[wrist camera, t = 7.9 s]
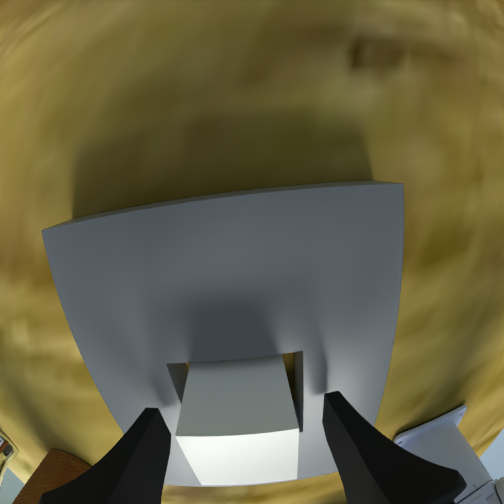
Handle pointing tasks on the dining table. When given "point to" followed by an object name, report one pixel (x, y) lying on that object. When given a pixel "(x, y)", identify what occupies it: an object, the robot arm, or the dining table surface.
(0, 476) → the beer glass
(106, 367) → the socket plate
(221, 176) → the dining table surface
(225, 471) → the plug block
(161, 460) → the robot arm
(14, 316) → the dining table surface
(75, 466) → the disposable coffee cup
